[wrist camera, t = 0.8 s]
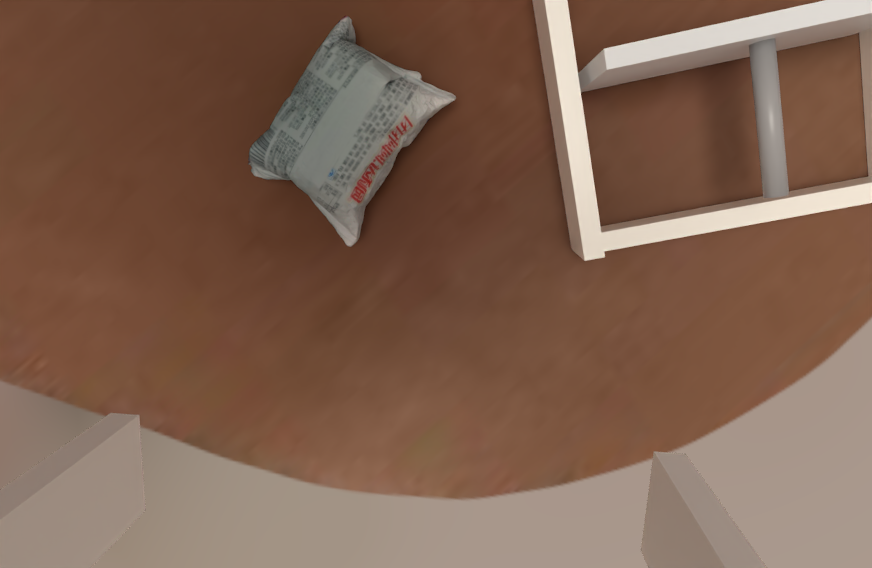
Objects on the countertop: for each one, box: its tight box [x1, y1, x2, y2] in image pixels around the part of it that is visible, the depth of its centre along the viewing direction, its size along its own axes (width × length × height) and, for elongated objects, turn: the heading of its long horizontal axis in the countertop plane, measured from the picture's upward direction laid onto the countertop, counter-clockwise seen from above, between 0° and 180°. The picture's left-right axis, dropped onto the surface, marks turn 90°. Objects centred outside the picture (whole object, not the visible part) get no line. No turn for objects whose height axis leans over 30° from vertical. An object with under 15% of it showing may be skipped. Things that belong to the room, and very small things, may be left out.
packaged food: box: [248, 16, 456, 247], centre depth 37 cm, size 9×12×5 cm
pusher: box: [578, 0, 872, 198], centre depth 33 cm, size 9×17×9 cm, turn 101°
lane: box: [532, 0, 872, 261], centre depth 34 cm, size 21×20×5 cm
